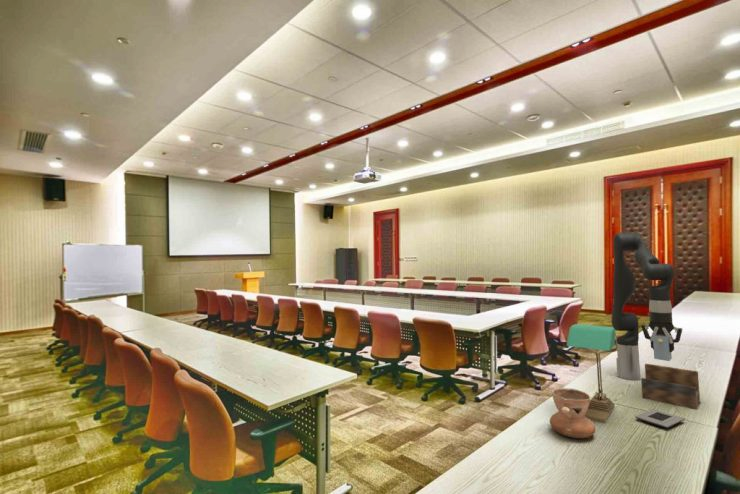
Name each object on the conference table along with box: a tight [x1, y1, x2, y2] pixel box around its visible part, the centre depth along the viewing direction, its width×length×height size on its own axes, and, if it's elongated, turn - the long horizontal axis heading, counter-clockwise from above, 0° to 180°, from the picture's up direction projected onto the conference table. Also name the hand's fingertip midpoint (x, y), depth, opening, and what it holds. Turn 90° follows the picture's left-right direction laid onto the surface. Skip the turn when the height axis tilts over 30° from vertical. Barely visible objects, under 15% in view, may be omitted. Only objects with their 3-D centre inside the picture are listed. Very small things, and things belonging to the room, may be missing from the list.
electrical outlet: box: [634, 408, 686, 429], centre depth 138 cm, size 13×10×2 cm
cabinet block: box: [653, 334, 673, 362], centre depth 154 cm, size 5×6×10 cm
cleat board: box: [640, 363, 701, 410], centre depth 157 cm, size 18×10×13 cm, turn 42°
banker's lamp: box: [566, 323, 618, 424], centre depth 148 cm, size 16×21×35 cm
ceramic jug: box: [549, 387, 596, 439], centre depth 132 cm, size 18×14×14 cm
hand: (662, 350), depth 154 cm, fingers closed on cabinet block, 5 cm apart
